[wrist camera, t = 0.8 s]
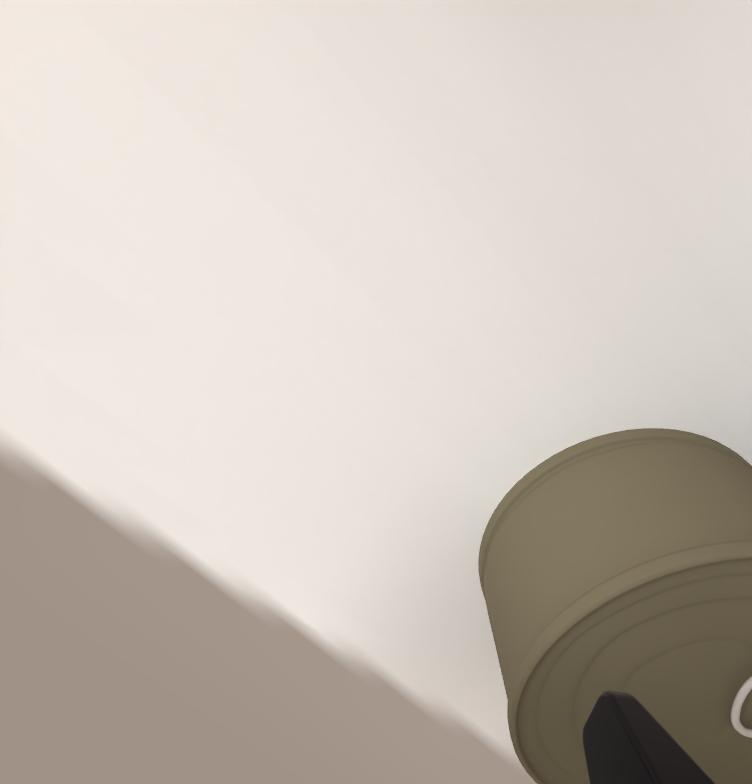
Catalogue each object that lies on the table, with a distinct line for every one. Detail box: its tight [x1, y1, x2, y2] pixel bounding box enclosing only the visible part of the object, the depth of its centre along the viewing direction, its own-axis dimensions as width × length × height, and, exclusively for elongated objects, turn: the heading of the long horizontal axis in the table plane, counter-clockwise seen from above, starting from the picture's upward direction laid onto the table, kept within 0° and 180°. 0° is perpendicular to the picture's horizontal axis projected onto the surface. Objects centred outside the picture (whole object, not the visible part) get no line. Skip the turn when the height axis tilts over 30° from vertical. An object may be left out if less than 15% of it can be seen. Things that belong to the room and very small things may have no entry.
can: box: [479, 429, 752, 784], centre depth 21 cm, size 12×12×7 cm
